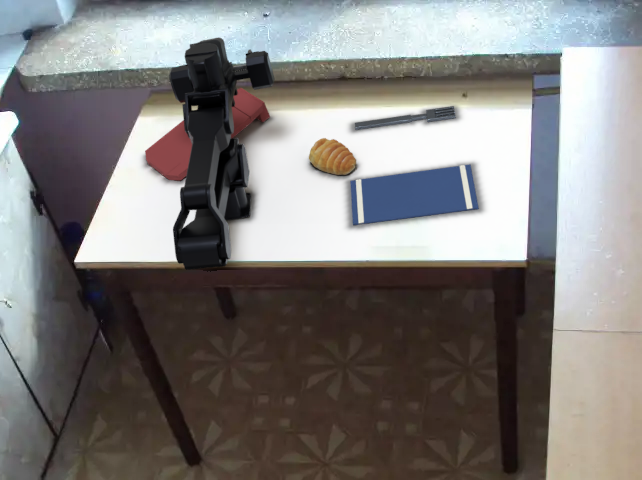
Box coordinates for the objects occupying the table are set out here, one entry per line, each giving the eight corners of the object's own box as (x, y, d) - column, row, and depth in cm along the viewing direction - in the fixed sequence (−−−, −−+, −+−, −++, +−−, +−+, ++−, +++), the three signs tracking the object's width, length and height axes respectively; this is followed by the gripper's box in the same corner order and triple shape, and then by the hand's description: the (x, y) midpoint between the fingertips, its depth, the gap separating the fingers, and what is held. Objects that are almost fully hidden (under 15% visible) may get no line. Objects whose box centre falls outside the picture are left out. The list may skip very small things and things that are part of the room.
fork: (455, 118, 182) (455, 115, 182) (355, 132, 184) (355, 129, 184) (453, 108, 184) (453, 105, 184) (354, 122, 186) (354, 120, 186)
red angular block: (182, 197, 186) (276, 120, 191) (172, 179, 182) (268, 101, 187) (149, 172, 193) (241, 98, 198) (139, 154, 189) (233, 79, 194)
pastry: (365, 163, 178) (363, 146, 175) (341, 183, 175) (338, 166, 173) (329, 146, 183) (326, 130, 180) (305, 165, 180) (302, 149, 178)
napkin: (478, 209, 165) (478, 207, 164) (353, 225, 168) (352, 223, 167) (470, 165, 172) (470, 164, 172) (350, 182, 175) (350, 180, 175)
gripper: (256, 45, 161) (264, 5, 172) (152, 64, 165) (167, 24, 176) (271, 104, 169) (278, 62, 180) (172, 121, 173) (185, 79, 184)
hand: (227, 56), depth 180 cm, fingers open, 9 cm apart
